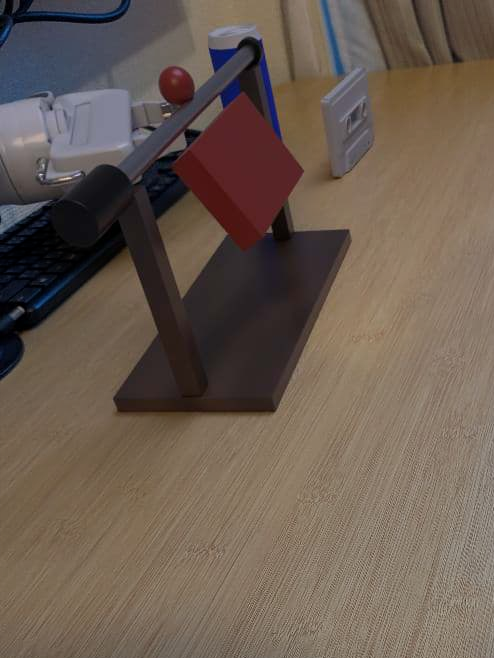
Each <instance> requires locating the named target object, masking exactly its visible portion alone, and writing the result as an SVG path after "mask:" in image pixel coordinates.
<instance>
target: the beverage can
mask: <svg viewBox="0 0 494 658" xmlns="http://www.w3.org/2000/svg"><path fill="white" fill-rule="evenodd" d="M207 35H208V36H207V48H208V53H209V56H210V61H211V65H212V69H213V74H215V73H216V72H217V71H218V70H219V69H220V68H221V67H222V66H223V65H224V64H225V63H226V62H227V61H228V60H230V59H231V58H232V57H233V56H234V55H235V54H236V53H237V46H238V44H239V42H240V41H241V40H242V39H243V38H245V37H249V36H250V37H254V38H256V39H257V40H258V41H259V42H260V43H261V45H262V48H263V58H262V60H261V61H260V62H259V63H258V64H260V67H261V72H262V77H263V81H264V86H265V91H266V96H267V101H268V106H269V110H270V115H271V120H272V125H273V130H274V132H275V133H276V134H277V136H278V137H279V138H280V140H281V141H282V142H283V137H282V131H281V127H280V122H279V117H278V112H277V106H276V101H275V97H274V92H273V88H272V82H271V77H270V72H269V68H268V62H267V57H266V51H265V48H264V42H263V39H262V38H263V37H262V35H261V33H260V31H259V29H258V27H257V26H256V24H254V23H248V22H247V23H234V24H229V25H224V26H220V27H217V28H214V29H212V30H210V31H209V32H208V34H207ZM240 94H241V91H240V87H239V82H238V78H236V79H235V80H234V81H233V82H232V83H231V84H230V85H229V86H228V87H227V88H226V89H225V90H224V91H223V92H222V93H221V94H220V95H219V97H220V101H221V105H222V110H223V109H224V108H225V107H226V106H227V105H228V104H230V103H231V102H232V101H233V100H234V99H235V98H236V97H237V96H238V95H240ZM283 143H284V142H283Z"/></svg>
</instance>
